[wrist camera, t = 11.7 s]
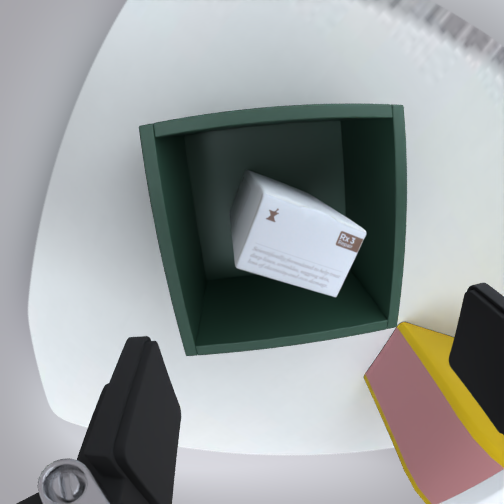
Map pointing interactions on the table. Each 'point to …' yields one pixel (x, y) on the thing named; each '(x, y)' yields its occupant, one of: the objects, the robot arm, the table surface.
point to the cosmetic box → (291, 235)
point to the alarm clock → (432, 415)
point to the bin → (293, 174)
